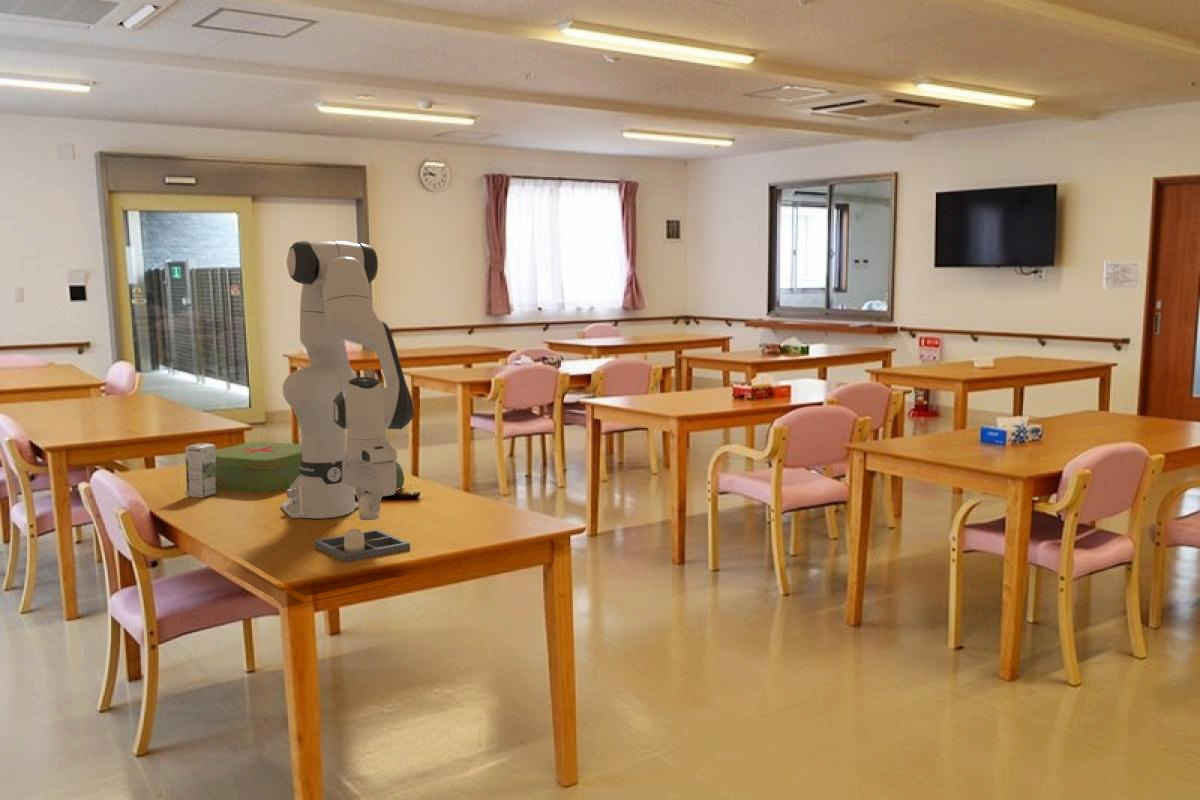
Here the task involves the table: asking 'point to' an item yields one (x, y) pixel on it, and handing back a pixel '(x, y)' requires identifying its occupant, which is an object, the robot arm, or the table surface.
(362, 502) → the egg
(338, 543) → the carton
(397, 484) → the green pot
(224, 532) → the table surface
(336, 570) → the table surface
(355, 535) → the resting egg
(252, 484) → the first aid kit
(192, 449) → the syrup box
